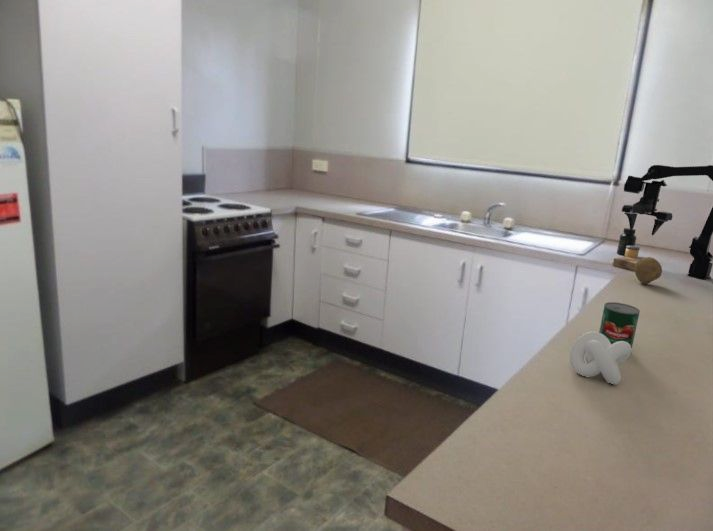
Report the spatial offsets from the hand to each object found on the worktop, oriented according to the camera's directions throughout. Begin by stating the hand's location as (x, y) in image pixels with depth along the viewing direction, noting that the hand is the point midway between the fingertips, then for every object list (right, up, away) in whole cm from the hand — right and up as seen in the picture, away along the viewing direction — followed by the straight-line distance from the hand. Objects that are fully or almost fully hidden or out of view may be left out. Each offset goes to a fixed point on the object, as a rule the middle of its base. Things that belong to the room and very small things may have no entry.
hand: (641, 232), depth 231 cm
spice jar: (-2, -13, +5) cm, 14 cm away
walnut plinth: (-6, -15, -3) cm, 16 cm away
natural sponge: (-13, -21, -28) cm, 37 cm away
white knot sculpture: (-67, -38, -112) cm, 136 cm away
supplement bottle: (+4, -9, +22) cm, 24 cm away
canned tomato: (-56, -35, -95) cm, 115 cm away
